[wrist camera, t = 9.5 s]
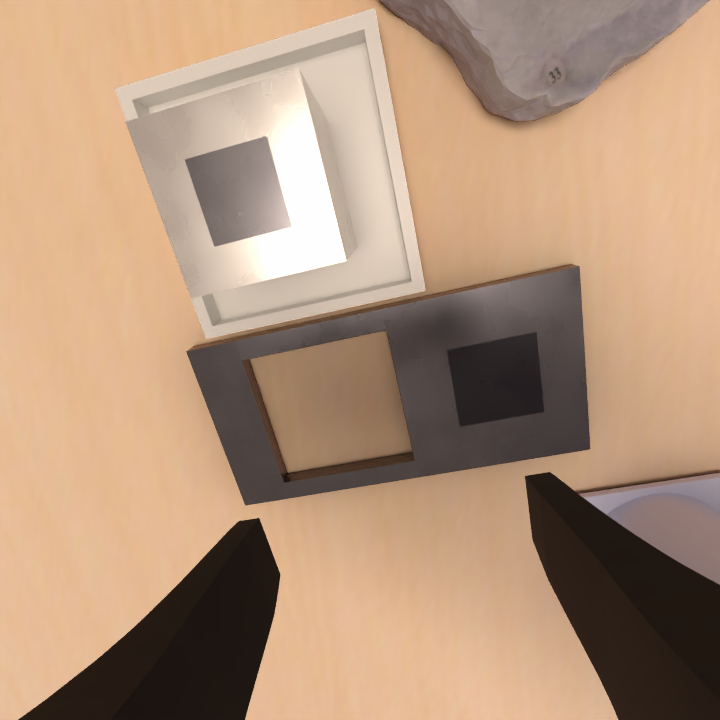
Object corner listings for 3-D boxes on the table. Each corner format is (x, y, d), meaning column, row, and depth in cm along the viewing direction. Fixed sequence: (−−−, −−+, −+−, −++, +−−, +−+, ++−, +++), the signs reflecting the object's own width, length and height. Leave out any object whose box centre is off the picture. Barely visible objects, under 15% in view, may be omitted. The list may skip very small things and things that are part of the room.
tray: (422, 285, 18) (426, 291, 17) (218, 330, 20) (205, 339, 18) (375, 27, 15) (375, 8, 14) (137, 99, 17) (114, 88, 15)
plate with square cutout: (582, 440, 21) (591, 449, 20) (249, 495, 23) (245, 506, 22) (571, 264, 18) (580, 266, 17) (193, 346, 20) (185, 351, 19)
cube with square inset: (357, 247, 18) (345, 261, 12) (250, 274, 18) (189, 299, 13) (328, 121, 16) (298, 66, 10) (212, 154, 17) (123, 121, 11)
